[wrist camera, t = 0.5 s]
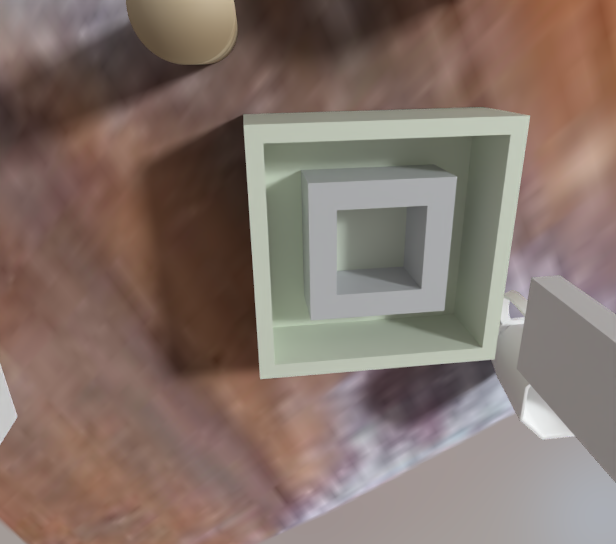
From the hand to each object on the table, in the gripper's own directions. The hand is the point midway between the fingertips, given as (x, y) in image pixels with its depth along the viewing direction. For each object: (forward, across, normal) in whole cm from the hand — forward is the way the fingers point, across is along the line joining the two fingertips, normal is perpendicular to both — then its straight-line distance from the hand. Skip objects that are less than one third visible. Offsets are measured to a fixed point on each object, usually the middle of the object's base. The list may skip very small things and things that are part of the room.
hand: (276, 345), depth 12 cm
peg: (+23, -2, +8) cm, 25 cm away
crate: (+23, +7, -5) cm, 25 cm away
